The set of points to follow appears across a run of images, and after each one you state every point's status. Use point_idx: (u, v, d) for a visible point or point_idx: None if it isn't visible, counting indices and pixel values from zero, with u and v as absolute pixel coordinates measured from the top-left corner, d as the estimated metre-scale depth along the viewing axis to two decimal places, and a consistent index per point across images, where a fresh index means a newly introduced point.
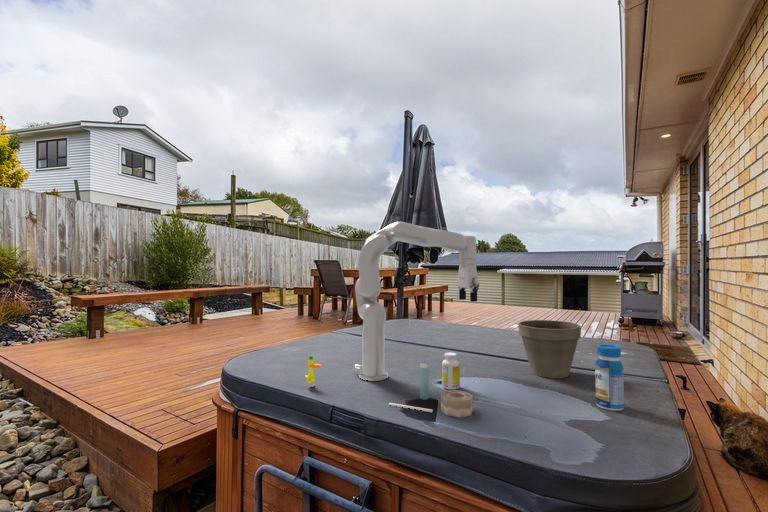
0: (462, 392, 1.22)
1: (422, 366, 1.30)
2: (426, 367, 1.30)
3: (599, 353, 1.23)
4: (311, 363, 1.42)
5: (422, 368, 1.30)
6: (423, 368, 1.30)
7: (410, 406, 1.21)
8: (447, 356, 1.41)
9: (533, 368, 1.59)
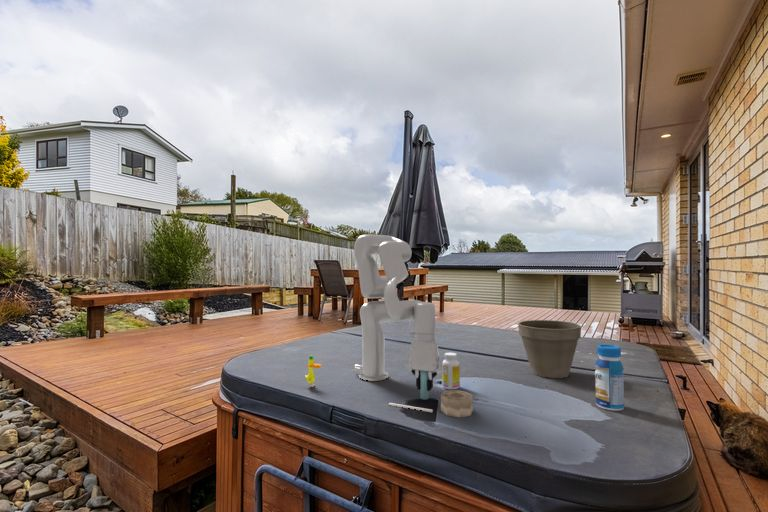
0: (462, 392, 1.22)
1: None
2: None
3: (599, 353, 1.23)
4: (311, 363, 1.42)
5: None
6: None
7: (410, 406, 1.21)
8: (447, 356, 1.41)
9: (533, 368, 1.59)
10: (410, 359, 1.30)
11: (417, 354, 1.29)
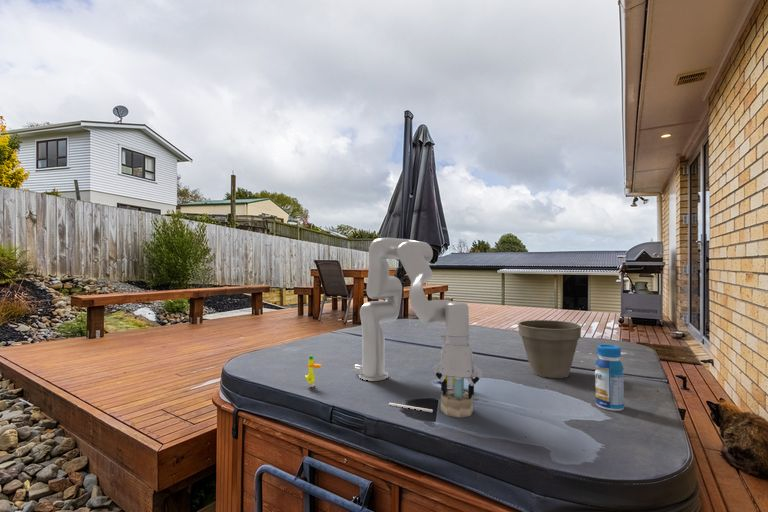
0: None
1: None
2: (461, 378, 1.17)
3: (599, 353, 1.23)
4: (311, 363, 1.42)
5: (457, 379, 1.17)
6: (458, 379, 1.17)
7: (410, 406, 1.21)
8: None
9: (533, 368, 1.59)
10: (442, 364, 1.19)
11: (450, 359, 1.18)
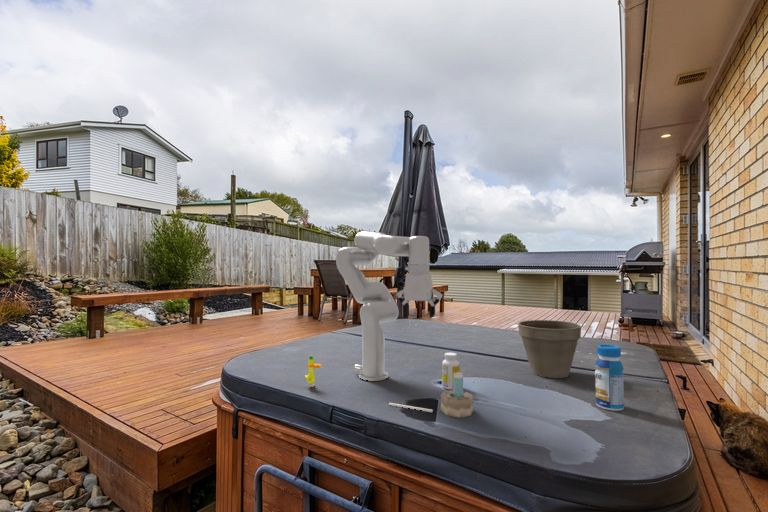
0: None
1: (456, 376, 1.18)
2: (461, 377, 1.18)
3: (599, 353, 1.23)
4: (311, 363, 1.42)
5: (457, 378, 1.18)
6: (458, 378, 1.18)
7: (410, 406, 1.21)
8: (447, 356, 1.41)
9: (533, 368, 1.59)
10: (405, 290, 1.35)
11: (412, 285, 1.34)
